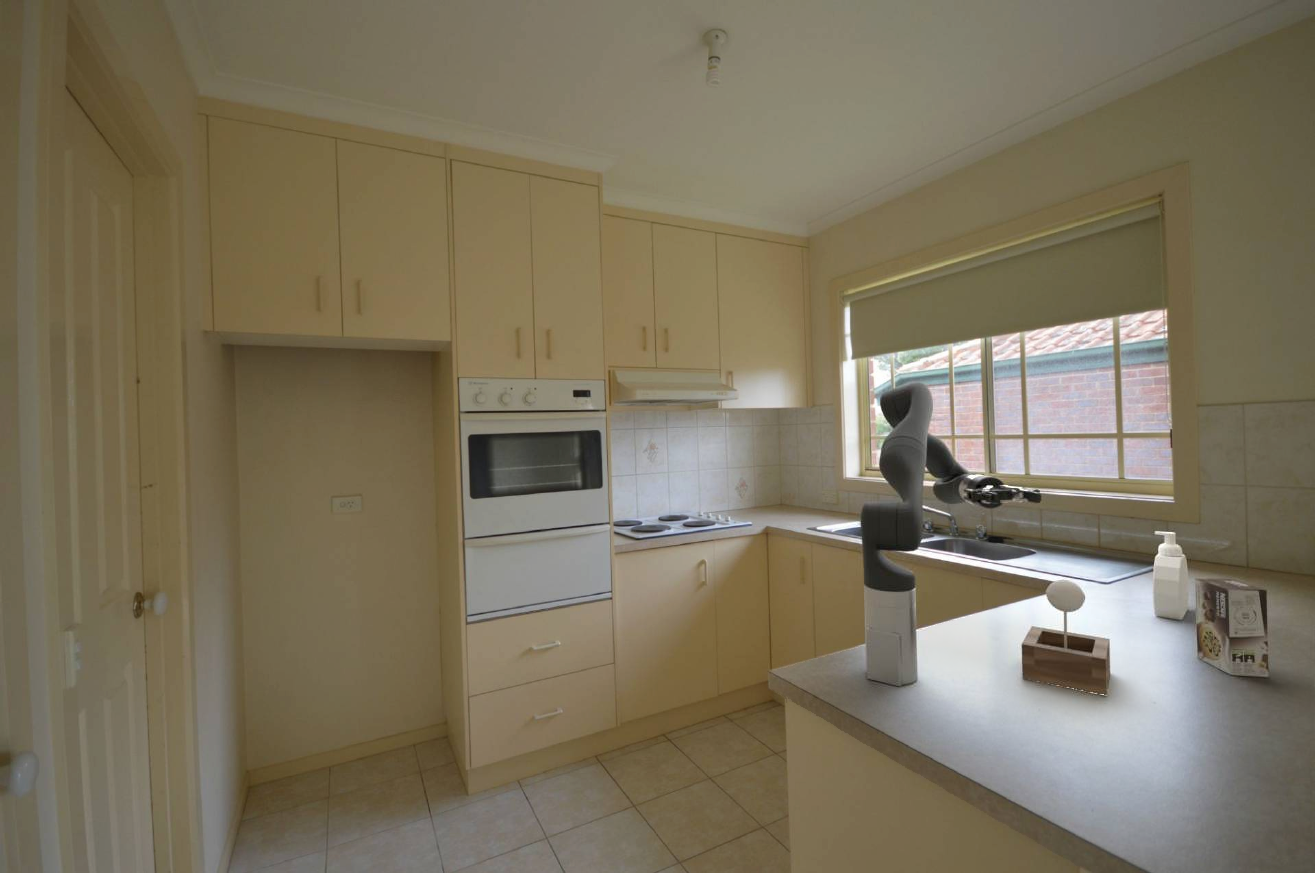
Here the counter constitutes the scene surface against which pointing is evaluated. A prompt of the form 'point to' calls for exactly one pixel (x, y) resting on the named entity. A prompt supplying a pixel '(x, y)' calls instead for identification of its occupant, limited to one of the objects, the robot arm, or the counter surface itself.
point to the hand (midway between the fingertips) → (1017, 498)
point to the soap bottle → (1170, 579)
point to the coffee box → (1232, 626)
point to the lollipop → (1065, 599)
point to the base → (1066, 660)
